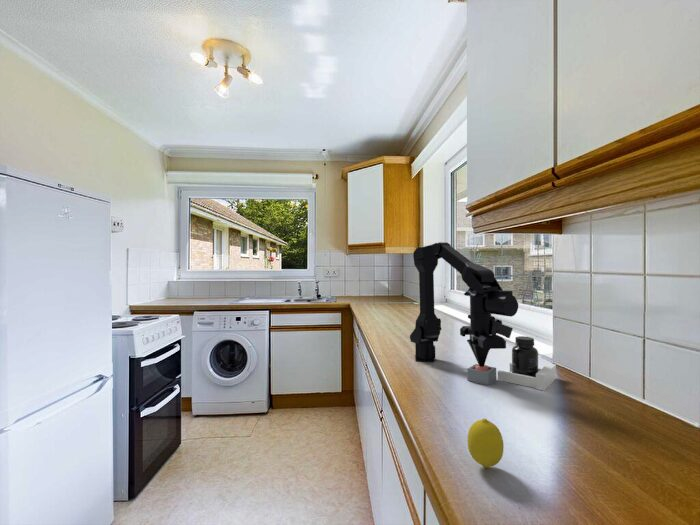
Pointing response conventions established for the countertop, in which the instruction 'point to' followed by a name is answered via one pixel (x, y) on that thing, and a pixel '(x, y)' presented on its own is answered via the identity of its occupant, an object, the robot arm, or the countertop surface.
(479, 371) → the plunger block
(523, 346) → the supplement bottle
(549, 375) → the white u-shaped frame
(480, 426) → the lemon
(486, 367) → the plunger
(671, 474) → the countertop surface
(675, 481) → the countertop surface
